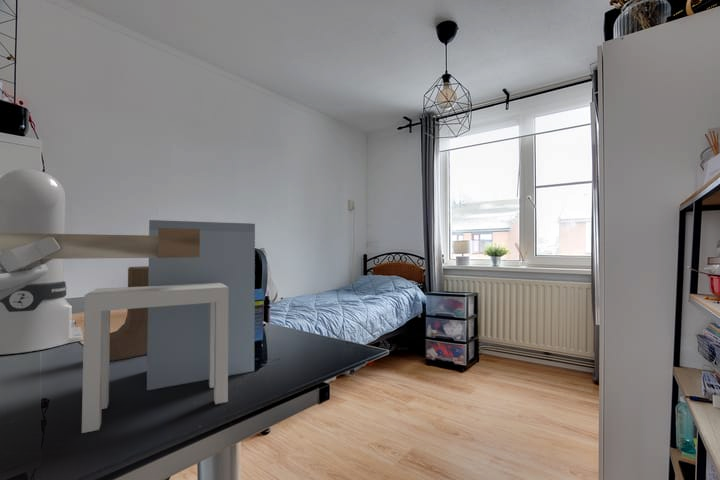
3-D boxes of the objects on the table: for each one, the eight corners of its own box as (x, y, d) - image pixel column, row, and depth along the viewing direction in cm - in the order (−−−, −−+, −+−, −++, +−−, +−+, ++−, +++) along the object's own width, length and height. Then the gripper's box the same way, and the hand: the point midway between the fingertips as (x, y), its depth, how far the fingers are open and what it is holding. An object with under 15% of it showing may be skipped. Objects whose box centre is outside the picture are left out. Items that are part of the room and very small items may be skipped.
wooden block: (102, 363, 64) (104, 268, 65) (99, 358, 67) (101, 267, 68) (156, 353, 70) (157, 266, 71) (151, 348, 73) (152, 266, 74)
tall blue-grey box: (149, 370, 60) (151, 224, 61) (242, 355, 68) (243, 227, 69) (146, 390, 51) (149, 219, 52) (254, 371, 59) (254, 223, 60)
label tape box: (254, 337, 83) (254, 287, 83) (264, 340, 80) (264, 288, 81) (220, 345, 76) (220, 290, 76) (229, 348, 73) (230, 291, 74)
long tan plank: (5, 258, 41) (6, 226, 41) (196, 256, 52) (197, 230, 52) (-14, 259, 37) (-12, 223, 37) (199, 257, 47) (199, 228, 47)
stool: (94, 406, 46) (96, 288, 47) (219, 382, 54) (220, 282, 55) (81, 433, 39) (84, 295, 40) (227, 401, 47) (228, 287, 48)
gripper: (-205, 292, 26) (13, 211, 32) (-55, 276, 44) (67, 226, 50) (-142, 357, 27) (55, 268, 34) (-21, 316, 45) (93, 262, 51)
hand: (62, 243), depth 42 cm, fingers closed on long tan plank, 3 cm apart
